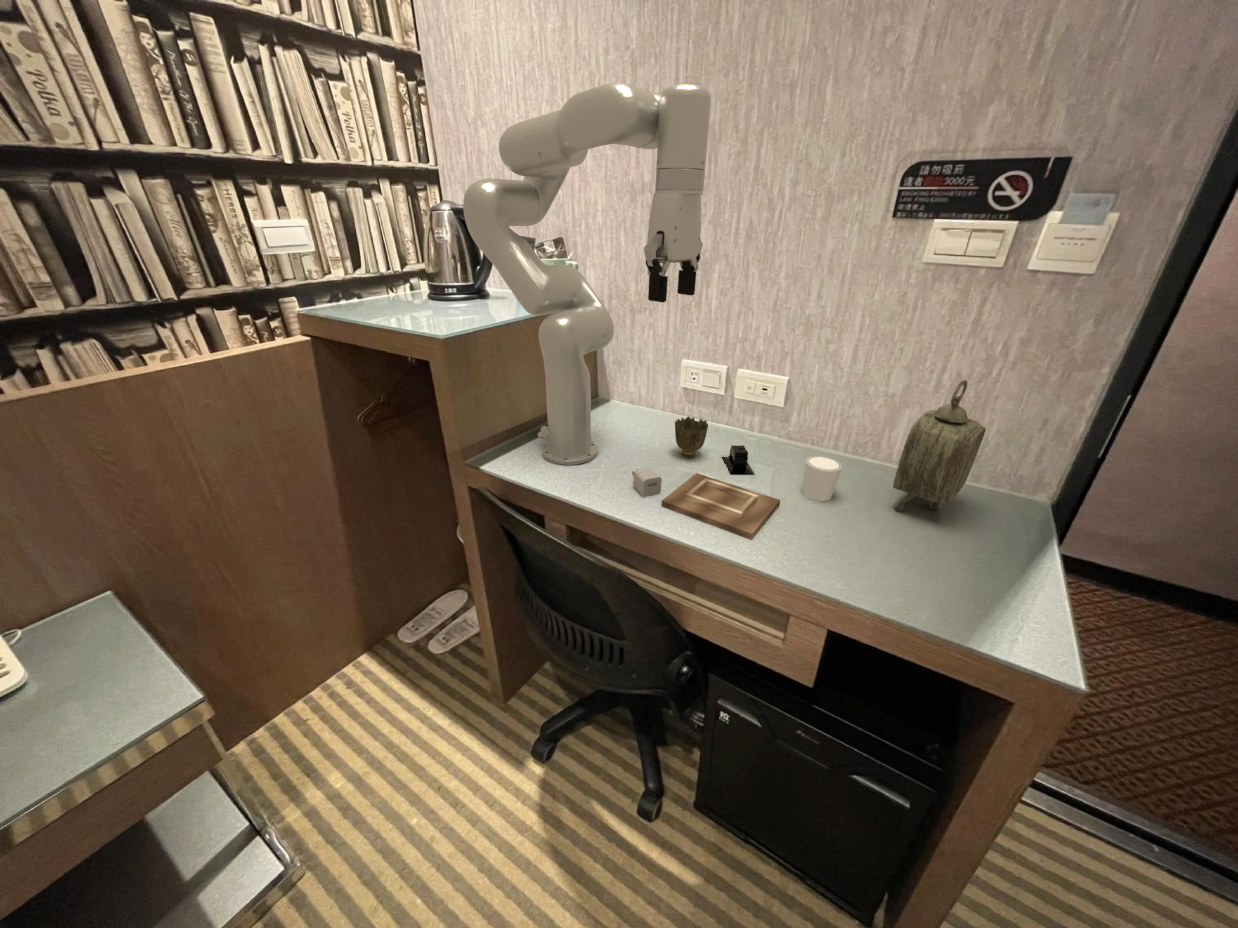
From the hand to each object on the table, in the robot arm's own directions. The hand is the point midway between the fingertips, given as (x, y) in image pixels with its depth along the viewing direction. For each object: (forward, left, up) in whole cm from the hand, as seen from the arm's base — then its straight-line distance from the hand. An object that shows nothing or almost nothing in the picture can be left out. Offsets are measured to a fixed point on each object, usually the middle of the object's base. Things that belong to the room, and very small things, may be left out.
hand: (672, 297), depth 87 cm
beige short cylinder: (+27, +16, -37) cm, 49 cm away
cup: (-2, +16, -37) cm, 40 cm away
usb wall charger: (-2, -3, -37) cm, 37 cm away
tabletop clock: (+45, +24, -37) cm, 63 cm away
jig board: (+14, 0, -37) cm, 39 cm away
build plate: (+9, +18, -38) cm, 43 cm away
